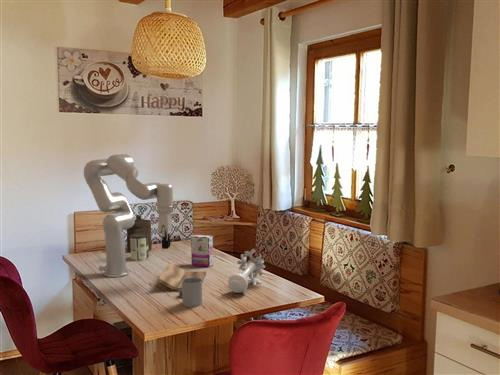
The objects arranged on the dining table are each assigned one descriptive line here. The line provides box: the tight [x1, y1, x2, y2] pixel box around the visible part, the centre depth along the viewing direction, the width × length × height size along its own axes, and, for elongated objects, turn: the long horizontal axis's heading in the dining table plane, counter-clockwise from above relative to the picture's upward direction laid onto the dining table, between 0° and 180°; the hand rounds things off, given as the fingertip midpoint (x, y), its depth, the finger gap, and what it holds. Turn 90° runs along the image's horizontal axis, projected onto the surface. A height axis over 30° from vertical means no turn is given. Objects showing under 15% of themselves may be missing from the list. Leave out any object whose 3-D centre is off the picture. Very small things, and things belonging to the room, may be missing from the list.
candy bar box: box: [190, 234, 214, 268], centre depth 282 cm, size 11×5×16 cm, turn 68°
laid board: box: [176, 270, 207, 292], centre depth 251 cm, size 10×28×2 cm, turn 178°
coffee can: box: [130, 233, 150, 262], centre depth 298 cm, size 10×10×14 cm
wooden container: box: [126, 214, 153, 253], centre depth 320 cm, size 15×15×22 cm
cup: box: [181, 278, 203, 308], centre depth 220 cm, size 8×8×10 cm
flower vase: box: [227, 248, 266, 294], centre depth 241 cm, size 13×18×25 cm
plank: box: [157, 262, 186, 291], centre depth 251 cm, size 9×28×2 cm, turn 178°
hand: (166, 247), depth 250 cm, fingers open, 3 cm apart
